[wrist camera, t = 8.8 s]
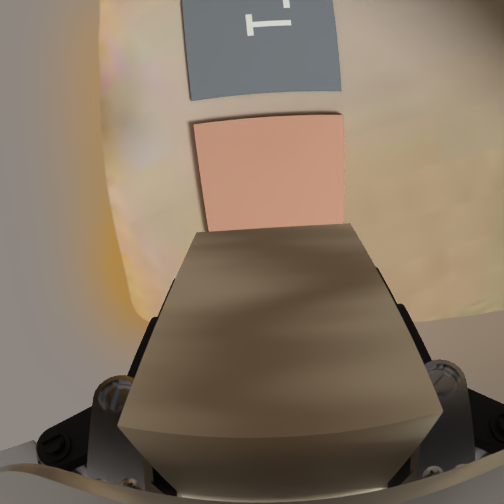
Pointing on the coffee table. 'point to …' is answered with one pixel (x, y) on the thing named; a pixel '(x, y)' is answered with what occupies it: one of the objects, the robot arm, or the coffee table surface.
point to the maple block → (279, 371)
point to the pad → (272, 171)
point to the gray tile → (260, 46)
